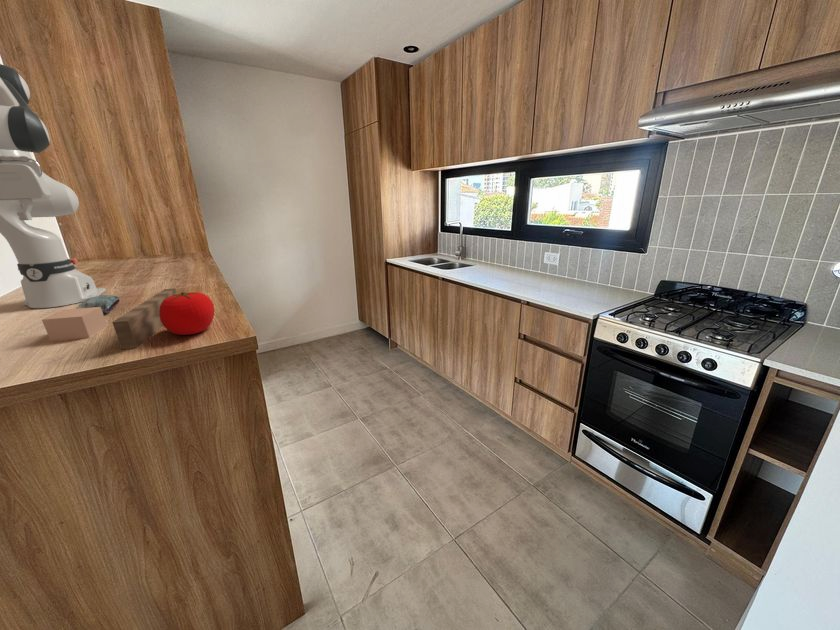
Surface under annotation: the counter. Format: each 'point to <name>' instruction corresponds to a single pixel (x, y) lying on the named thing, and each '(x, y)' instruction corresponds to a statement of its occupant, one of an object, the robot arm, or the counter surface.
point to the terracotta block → (75, 323)
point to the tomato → (186, 313)
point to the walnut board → (141, 321)
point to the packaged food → (101, 302)
